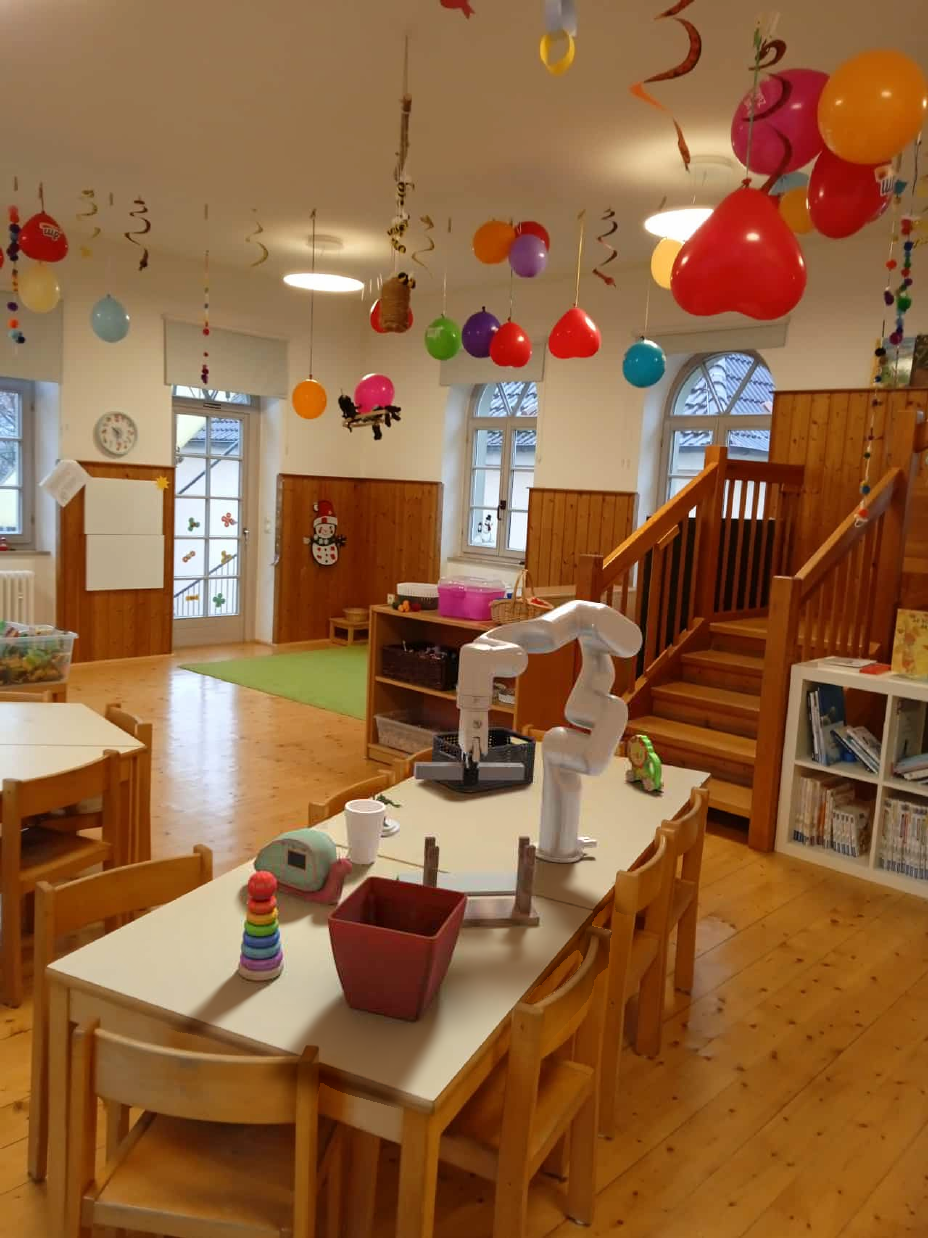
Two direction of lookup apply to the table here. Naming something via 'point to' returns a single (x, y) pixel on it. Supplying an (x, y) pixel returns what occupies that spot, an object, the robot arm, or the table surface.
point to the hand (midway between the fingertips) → (468, 781)
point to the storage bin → (488, 757)
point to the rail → (457, 771)
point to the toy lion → (644, 763)
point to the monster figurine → (388, 824)
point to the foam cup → (364, 829)
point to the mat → (471, 882)
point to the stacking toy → (261, 931)
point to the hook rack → (493, 909)
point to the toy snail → (305, 865)
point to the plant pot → (395, 944)
